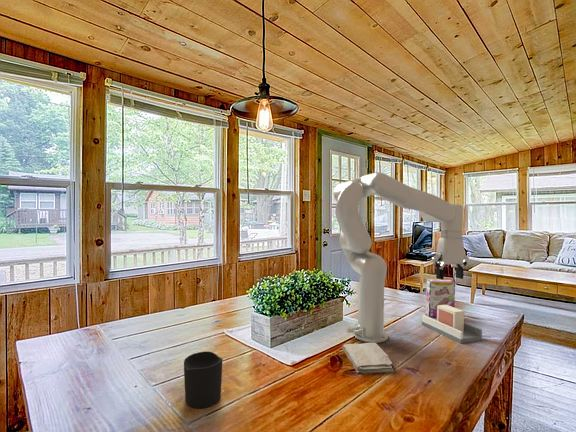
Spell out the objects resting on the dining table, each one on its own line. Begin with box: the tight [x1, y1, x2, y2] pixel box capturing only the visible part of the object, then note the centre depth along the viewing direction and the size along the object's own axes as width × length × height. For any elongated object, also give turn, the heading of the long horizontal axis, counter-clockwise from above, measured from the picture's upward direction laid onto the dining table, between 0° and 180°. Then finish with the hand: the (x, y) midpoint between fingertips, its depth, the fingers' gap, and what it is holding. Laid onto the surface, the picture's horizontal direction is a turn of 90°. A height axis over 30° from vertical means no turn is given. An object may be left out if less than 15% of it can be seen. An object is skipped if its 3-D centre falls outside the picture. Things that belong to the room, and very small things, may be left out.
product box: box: [436, 305, 465, 332], centre depth 129 cm, size 9×5×8 cm, turn 18°
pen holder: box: [183, 350, 223, 409], centre depth 82 cm, size 9×9×10 cm
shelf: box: [421, 314, 483, 344], centre depth 129 cm, size 20×10×4 cm, turn 18°
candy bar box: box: [425, 278, 456, 318], centre depth 149 cm, size 11×5×16 cm, turn 84°
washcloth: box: [341, 342, 394, 374], centre depth 105 cm, size 12×18×3 cm, turn 6°
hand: (449, 278), depth 129 cm, fingers open, 9 cm apart
